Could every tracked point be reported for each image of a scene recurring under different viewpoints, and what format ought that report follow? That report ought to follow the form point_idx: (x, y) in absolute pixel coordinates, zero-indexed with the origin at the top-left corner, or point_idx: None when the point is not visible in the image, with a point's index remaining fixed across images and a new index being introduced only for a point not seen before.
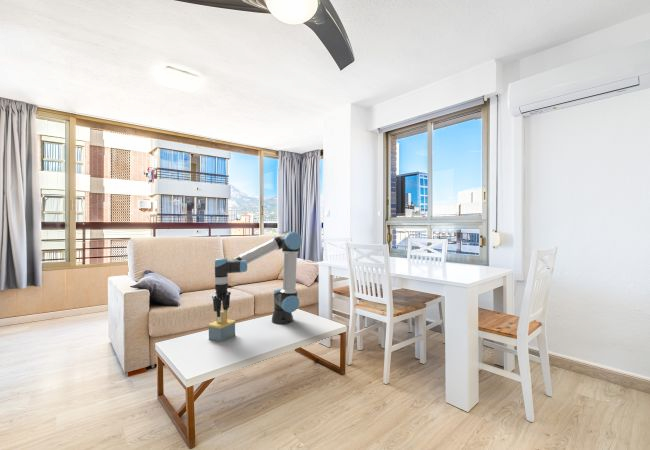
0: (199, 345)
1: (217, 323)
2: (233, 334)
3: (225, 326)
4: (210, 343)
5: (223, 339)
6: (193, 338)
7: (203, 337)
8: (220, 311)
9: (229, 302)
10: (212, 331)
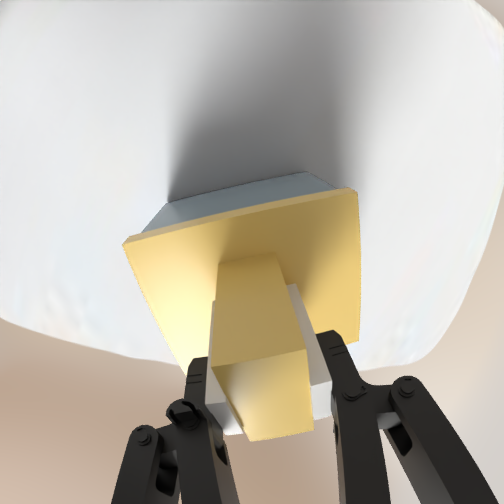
0: (399, 232)
1: (306, 305)
2: (180, 201)
3: (280, 200)
4: None
5: (283, 177)
6: None
7: None
8: (317, 395)
9: (114, 495)
10: None
